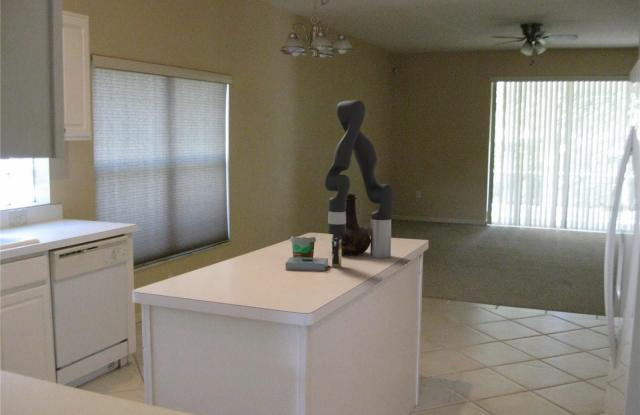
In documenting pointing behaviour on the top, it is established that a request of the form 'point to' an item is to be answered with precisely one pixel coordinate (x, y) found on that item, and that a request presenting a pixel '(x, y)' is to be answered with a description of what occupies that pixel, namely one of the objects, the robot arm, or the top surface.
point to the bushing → (339, 259)
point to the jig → (307, 264)
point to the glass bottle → (353, 231)
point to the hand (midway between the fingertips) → (336, 262)
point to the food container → (303, 246)
